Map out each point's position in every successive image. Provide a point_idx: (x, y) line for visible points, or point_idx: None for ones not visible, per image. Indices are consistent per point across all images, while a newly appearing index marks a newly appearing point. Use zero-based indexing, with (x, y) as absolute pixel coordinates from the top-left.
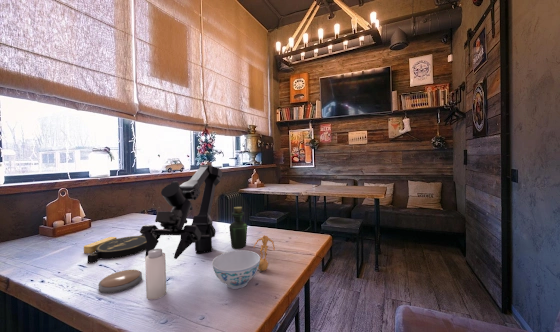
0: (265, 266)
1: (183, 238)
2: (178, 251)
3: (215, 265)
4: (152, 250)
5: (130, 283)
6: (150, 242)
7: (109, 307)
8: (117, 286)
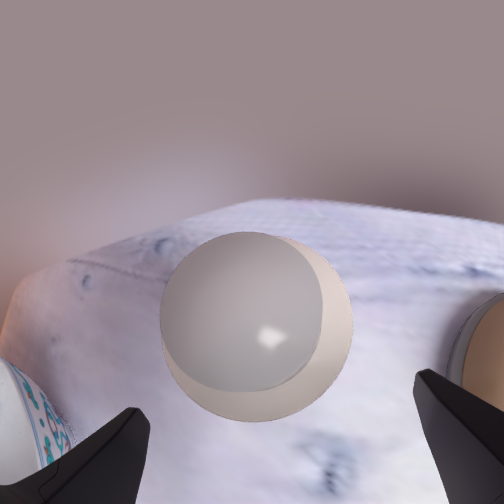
0: None
1: (6, 493)
2: (94, 436)
3: (53, 458)
4: (285, 307)
5: (456, 363)
6: (500, 465)
7: (395, 246)
8: (478, 320)
